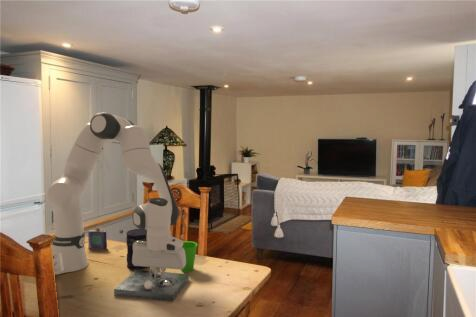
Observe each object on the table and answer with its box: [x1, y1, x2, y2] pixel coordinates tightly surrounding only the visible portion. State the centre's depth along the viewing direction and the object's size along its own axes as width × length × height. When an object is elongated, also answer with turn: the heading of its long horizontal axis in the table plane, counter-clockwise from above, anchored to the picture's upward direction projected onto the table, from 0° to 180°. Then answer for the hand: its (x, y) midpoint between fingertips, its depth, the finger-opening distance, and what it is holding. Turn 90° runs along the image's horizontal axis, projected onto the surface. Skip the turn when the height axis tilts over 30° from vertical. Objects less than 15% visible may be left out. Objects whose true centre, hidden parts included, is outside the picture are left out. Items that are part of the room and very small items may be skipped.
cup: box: [180, 240, 199, 273], centre depth 155 cm, size 9×9×11 cm
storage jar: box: [125, 228, 148, 271], centre depth 158 cm, size 10×10×15 cm
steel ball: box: [163, 280, 171, 285], centre depth 137 cm, size 3×3×3 cm
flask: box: [87, 226, 108, 250], centre depth 180 cm, size 9×3×11 cm, turn 84°
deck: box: [113, 269, 190, 303], centre depth 138 cm, size 22×18×2 cm
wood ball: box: [149, 267, 161, 274], centre depth 144 cm, size 4×4×4 cm
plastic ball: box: [144, 281, 153, 289], centre depth 131 cm, size 3×3×3 cm
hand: (159, 278), depth 137 cm, fingers closed
